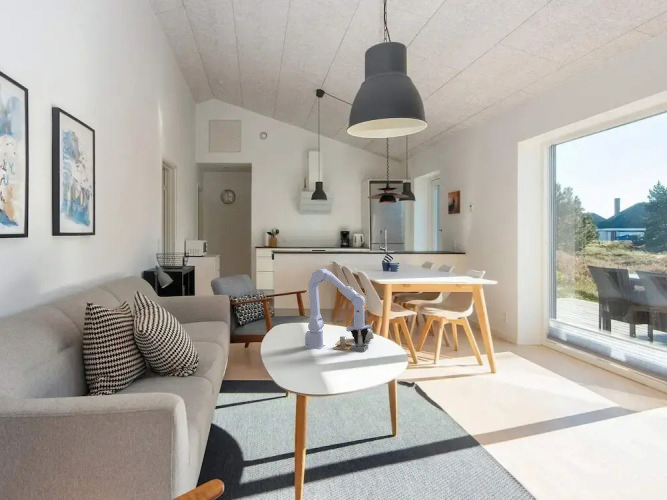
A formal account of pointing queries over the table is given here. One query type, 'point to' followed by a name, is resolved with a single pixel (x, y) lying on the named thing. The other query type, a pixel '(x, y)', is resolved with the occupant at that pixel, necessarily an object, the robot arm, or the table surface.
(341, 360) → the table surface
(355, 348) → the slate dish
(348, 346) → the oak box
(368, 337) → the white and red lump
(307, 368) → the table surface
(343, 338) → the grey capsule cylinder
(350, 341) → the oak lid
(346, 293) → the robot arm
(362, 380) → the table surface
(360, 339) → the pale grey capsule
